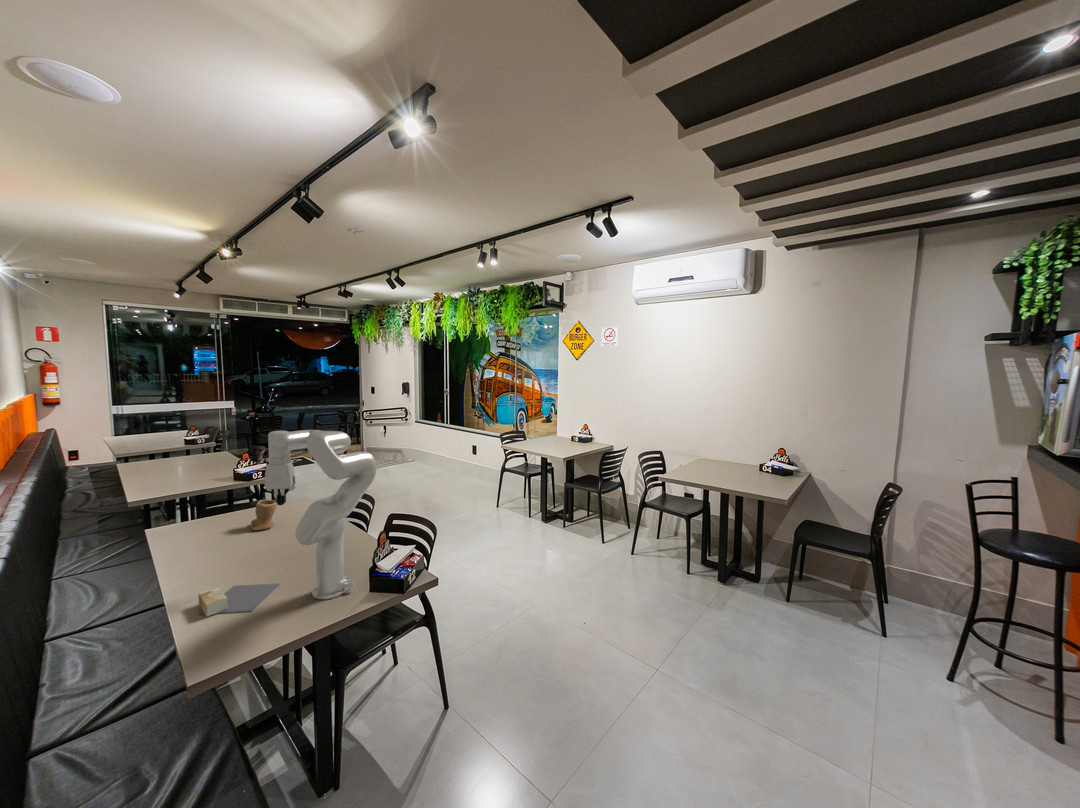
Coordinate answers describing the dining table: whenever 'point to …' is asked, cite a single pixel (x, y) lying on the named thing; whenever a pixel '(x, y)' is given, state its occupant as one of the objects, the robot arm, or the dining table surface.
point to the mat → (246, 597)
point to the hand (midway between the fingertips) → (281, 504)
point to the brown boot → (264, 515)
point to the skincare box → (212, 601)
